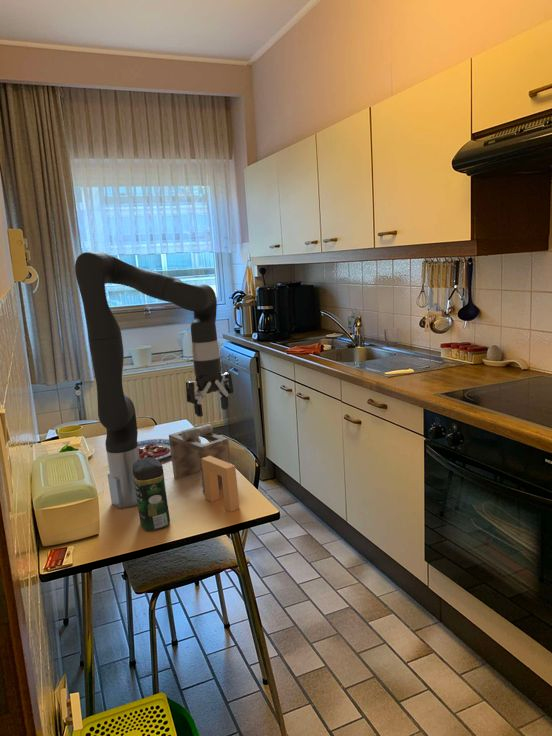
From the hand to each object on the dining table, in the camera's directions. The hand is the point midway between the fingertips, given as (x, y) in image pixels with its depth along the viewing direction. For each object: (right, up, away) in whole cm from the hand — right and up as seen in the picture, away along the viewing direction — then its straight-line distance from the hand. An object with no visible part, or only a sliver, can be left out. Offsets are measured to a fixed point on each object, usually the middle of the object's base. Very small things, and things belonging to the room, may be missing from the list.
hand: (212, 412), depth 161 cm
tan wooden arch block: (+2, -27, +5) cm, 28 cm away
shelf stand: (-6, -24, +24) cm, 35 cm away
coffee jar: (-15, -31, -4) cm, 35 cm away
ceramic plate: (-31, -21, +54) cm, 66 cm away
